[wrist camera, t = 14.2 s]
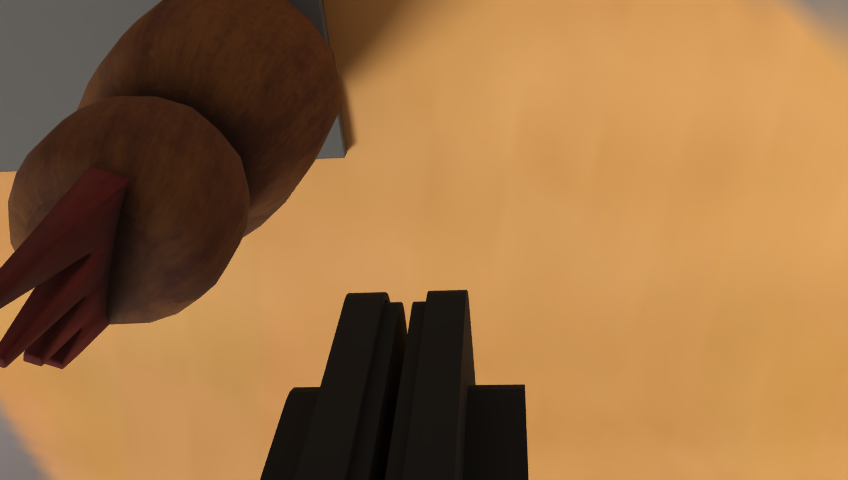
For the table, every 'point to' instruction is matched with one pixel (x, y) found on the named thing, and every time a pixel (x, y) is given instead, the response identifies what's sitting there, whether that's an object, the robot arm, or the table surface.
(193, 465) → the table surface
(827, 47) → the table surface
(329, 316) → the table surface
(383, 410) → the robot arm
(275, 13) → the wooden figurine
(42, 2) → the mat
